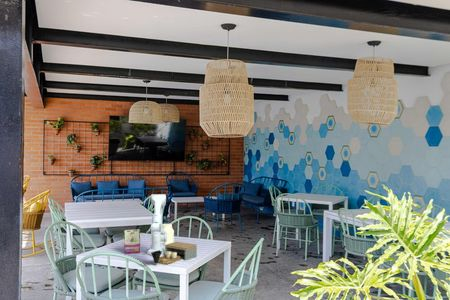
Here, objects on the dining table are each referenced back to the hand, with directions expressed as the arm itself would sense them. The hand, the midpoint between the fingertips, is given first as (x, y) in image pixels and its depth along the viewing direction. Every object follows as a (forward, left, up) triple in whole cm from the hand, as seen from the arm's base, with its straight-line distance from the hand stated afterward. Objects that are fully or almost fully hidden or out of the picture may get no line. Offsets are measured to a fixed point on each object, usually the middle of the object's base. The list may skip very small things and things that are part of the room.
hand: (156, 262), depth 267 cm
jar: (-35, +53, -2) cm, 63 cm away
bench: (0, +26, -2) cm, 26 cm away
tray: (0, +12, -2) cm, 12 cm away
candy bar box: (-37, +17, -2) cm, 41 cm away
